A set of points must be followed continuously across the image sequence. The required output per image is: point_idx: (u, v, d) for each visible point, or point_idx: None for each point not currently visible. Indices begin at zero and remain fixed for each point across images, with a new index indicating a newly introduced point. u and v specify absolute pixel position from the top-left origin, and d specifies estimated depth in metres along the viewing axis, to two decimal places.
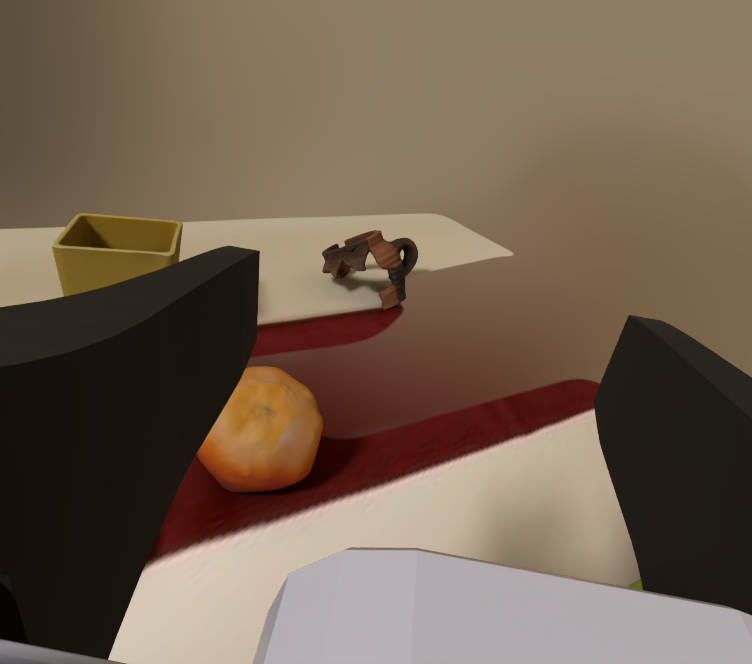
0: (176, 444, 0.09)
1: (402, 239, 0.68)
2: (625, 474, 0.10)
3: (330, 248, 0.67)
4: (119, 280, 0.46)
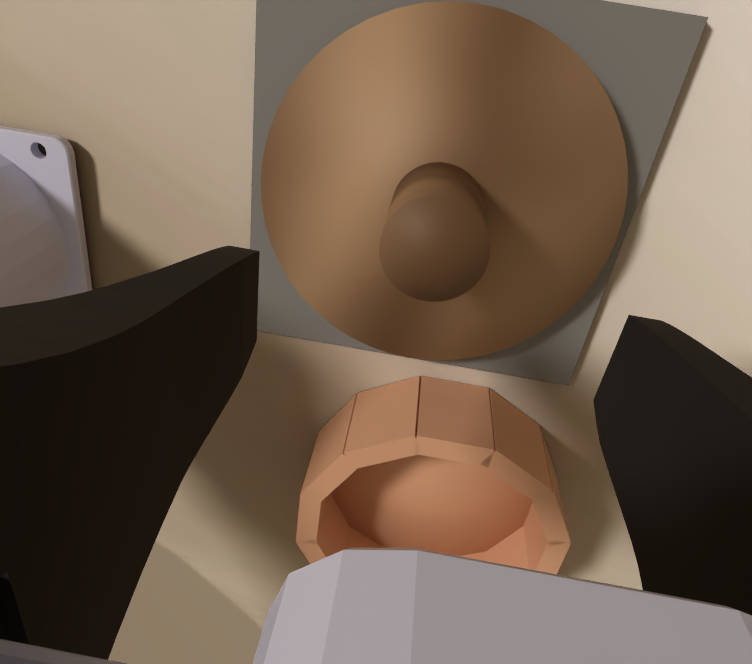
0: (176, 444, 0.09)
1: None
2: (625, 474, 0.10)
3: None
4: None
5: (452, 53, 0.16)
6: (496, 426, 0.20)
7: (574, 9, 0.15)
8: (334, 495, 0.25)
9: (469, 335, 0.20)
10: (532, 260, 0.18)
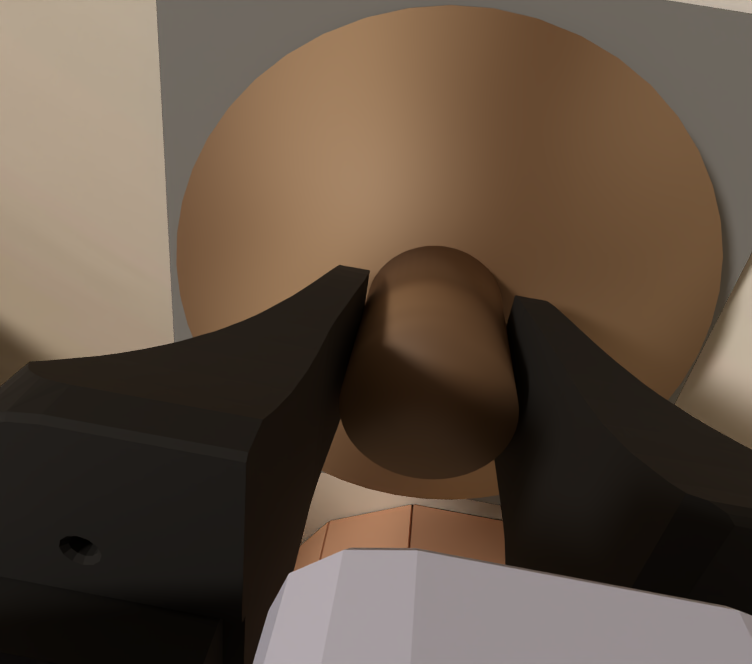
0: (313, 469, 0.09)
1: None
2: (502, 452, 0.10)
3: None
4: None
5: (456, 87, 0.10)
6: None
7: (648, 18, 0.10)
8: None
9: (479, 471, 0.14)
10: None
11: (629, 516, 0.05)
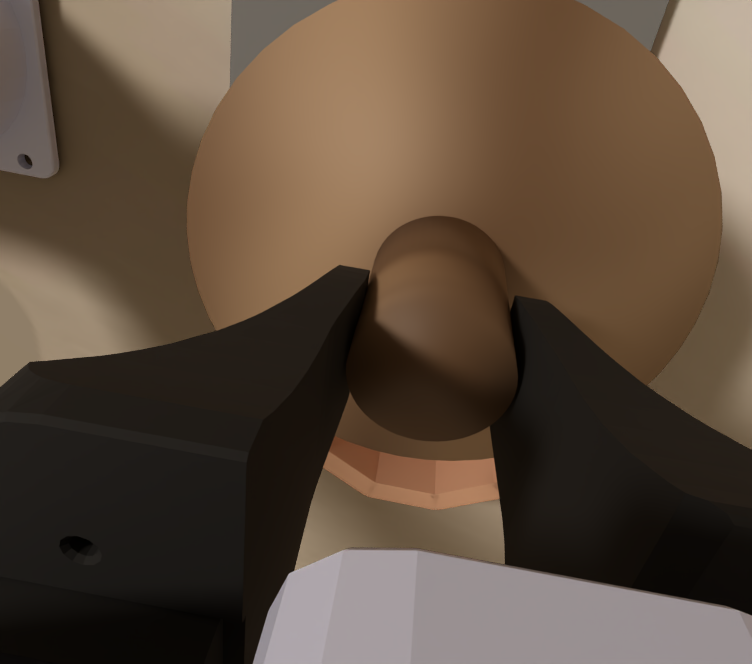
0: (313, 469, 0.09)
1: None
2: (502, 452, 0.10)
3: None
4: None
5: (462, 58, 0.10)
6: None
7: None
8: None
9: (480, 434, 0.15)
10: None
11: (629, 516, 0.05)
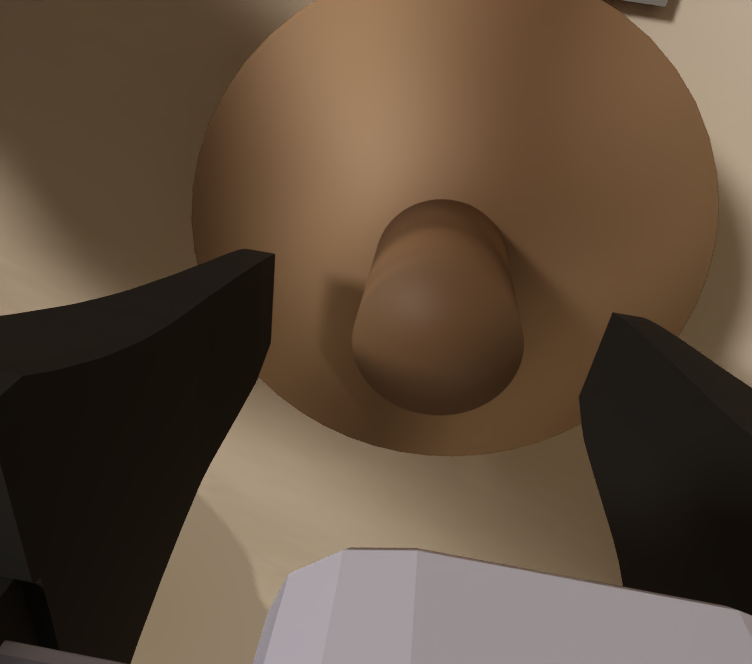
0: (196, 448, 0.09)
1: None
2: (607, 471, 0.10)
3: None
4: None
5: (464, 41, 0.10)
6: None
7: None
8: None
9: (483, 427, 0.15)
10: (573, 333, 0.13)
11: None
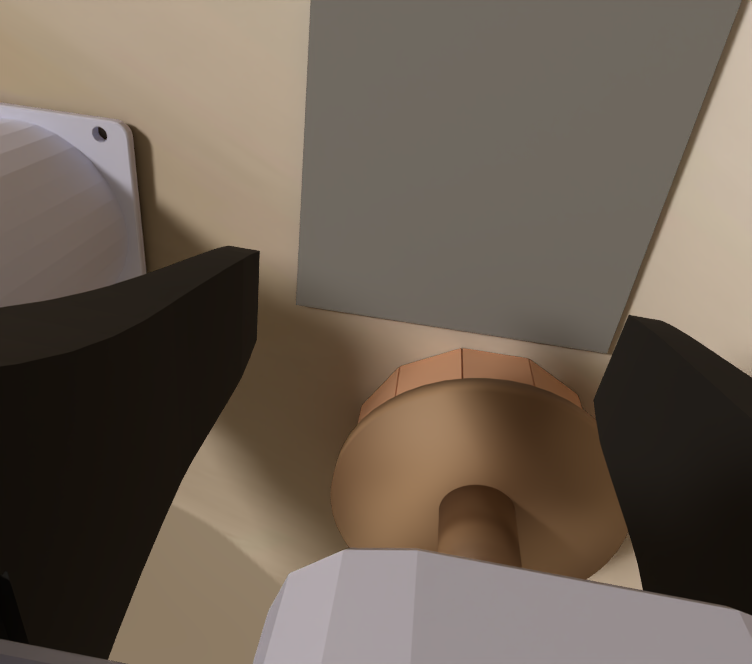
0: (176, 444, 0.09)
1: None
2: (625, 474, 0.10)
3: None
4: None
5: (490, 421, 0.19)
6: None
7: None
8: None
9: None
10: (555, 547, 0.22)
11: None
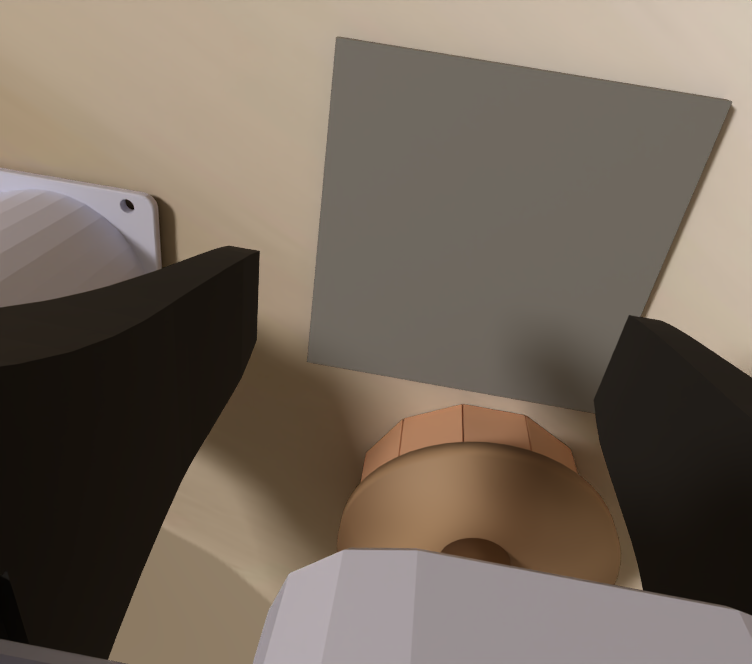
0: (176, 444, 0.09)
1: None
2: (625, 474, 0.10)
3: None
4: None
5: (489, 483, 0.21)
6: None
7: (614, 93, 0.17)
8: None
9: None
10: None
11: None
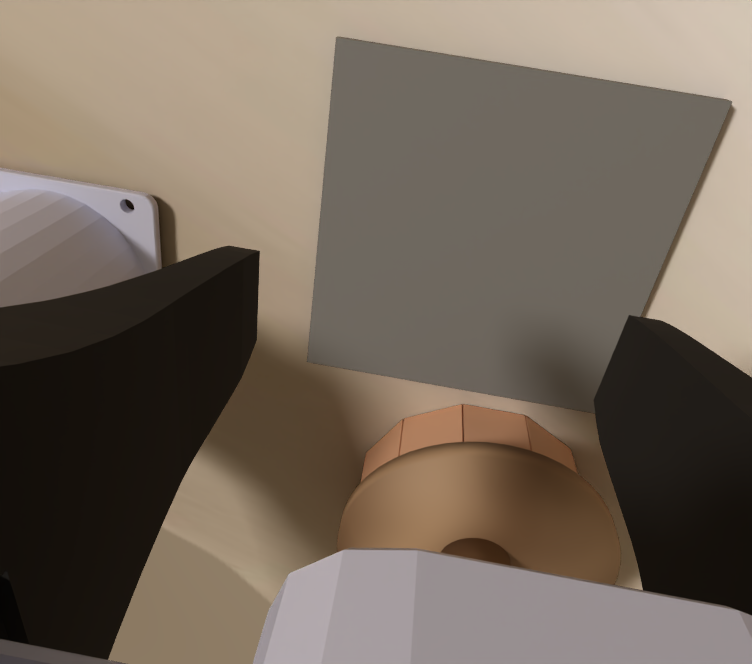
0: (176, 444, 0.09)
1: None
2: (625, 474, 0.10)
3: None
4: None
5: (489, 483, 0.21)
6: None
7: (614, 93, 0.17)
8: None
9: None
10: None
11: None
